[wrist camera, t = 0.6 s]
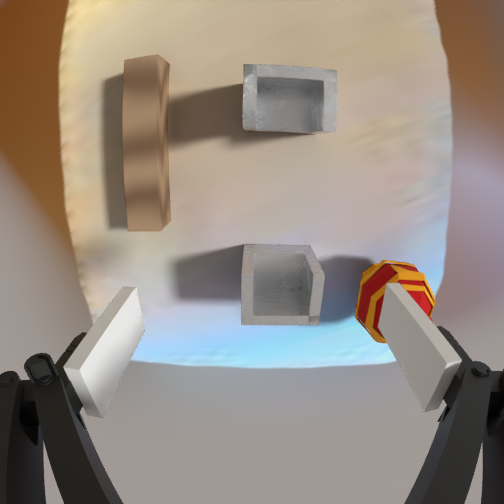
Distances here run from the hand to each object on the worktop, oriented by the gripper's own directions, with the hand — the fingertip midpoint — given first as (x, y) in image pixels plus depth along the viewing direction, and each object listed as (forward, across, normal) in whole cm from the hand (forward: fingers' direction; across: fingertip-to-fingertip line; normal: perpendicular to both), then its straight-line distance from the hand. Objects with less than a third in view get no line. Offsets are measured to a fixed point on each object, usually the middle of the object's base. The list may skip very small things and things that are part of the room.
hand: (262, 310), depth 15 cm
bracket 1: (+23, +3, +12) cm, 27 cm away
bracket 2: (+23, +2, -8) cm, 25 cm away
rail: (+24, -13, +9) cm, 28 cm away
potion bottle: (+23, +17, -10) cm, 31 cm away
